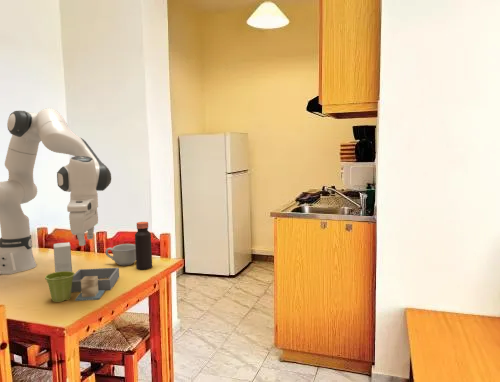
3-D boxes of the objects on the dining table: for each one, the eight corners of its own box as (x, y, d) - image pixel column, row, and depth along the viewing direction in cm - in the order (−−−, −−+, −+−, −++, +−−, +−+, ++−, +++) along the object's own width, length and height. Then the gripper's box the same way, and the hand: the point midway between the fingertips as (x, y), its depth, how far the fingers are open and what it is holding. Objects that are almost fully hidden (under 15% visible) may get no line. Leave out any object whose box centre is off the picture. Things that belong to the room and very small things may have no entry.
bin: (66, 292, 154) (66, 281, 153) (79, 279, 169) (79, 269, 169) (110, 290, 155) (109, 279, 155) (119, 277, 171) (118, 267, 170)
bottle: (135, 270, 180) (133, 224, 177) (137, 265, 186) (135, 221, 184) (151, 269, 181) (149, 223, 178) (152, 265, 187) (151, 220, 185)
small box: (72, 276, 172) (70, 245, 171) (55, 279, 169) (53, 247, 168) (71, 271, 179) (69, 241, 178) (55, 273, 177) (53, 243, 175)
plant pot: (52, 294, 151) (51, 271, 150) (79, 293, 152) (78, 270, 151) (42, 304, 142) (40, 279, 141) (70, 303, 143) (69, 278, 142)
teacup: (141, 260, 195) (140, 243, 194) (132, 267, 184) (131, 249, 183) (112, 260, 196) (111, 243, 195) (102, 267, 186) (101, 249, 185)
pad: (75, 300, 145) (75, 299, 145) (82, 292, 153) (82, 291, 153) (99, 299, 146) (99, 297, 146) (104, 291, 154) (104, 290, 154)
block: (81, 297, 147) (80, 280, 146) (85, 292, 151) (84, 276, 151) (95, 296, 147) (94, 279, 147) (98, 291, 152) (97, 275, 151)
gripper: (83, 199, 156) (85, 235, 157) (65, 207, 135) (67, 249, 137) (101, 199, 156) (103, 235, 158) (85, 207, 136) (87, 248, 137)
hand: (86, 242), depth 147 cm, fingers open, 8 cm apart
